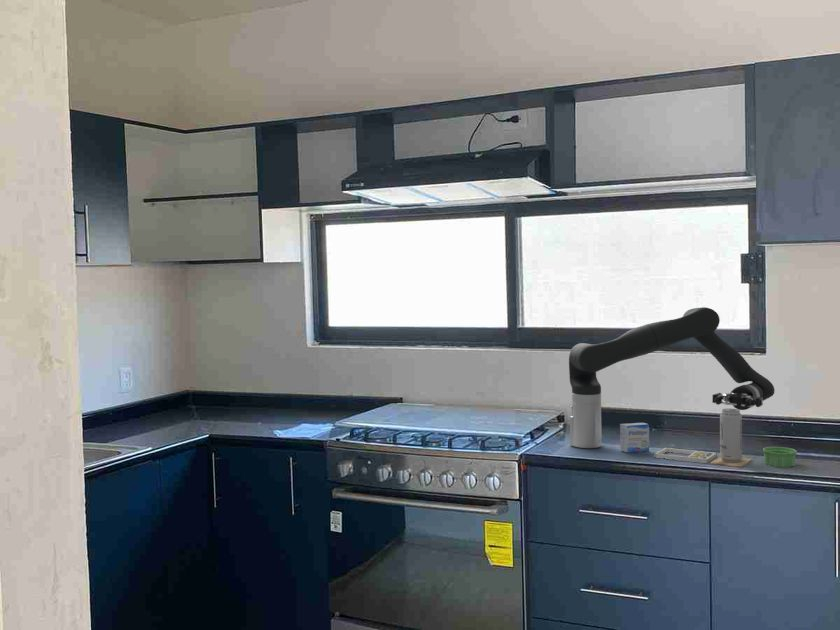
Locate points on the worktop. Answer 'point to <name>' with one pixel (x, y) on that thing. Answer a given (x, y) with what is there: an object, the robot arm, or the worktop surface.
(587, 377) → the robot arm
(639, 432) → the medicine box
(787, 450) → the ramekin
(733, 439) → the energy drink can
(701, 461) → the parts tray
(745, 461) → the cork mat
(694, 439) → the worktop surface
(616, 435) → the worktop surface
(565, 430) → the worktop surface
